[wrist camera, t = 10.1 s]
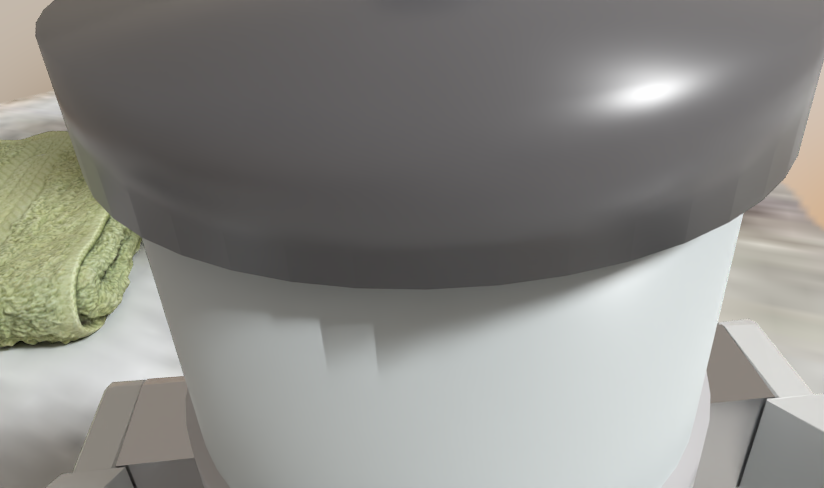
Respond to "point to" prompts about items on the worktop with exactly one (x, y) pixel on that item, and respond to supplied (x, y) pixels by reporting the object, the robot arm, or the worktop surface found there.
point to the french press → (438, 221)
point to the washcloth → (56, 245)
